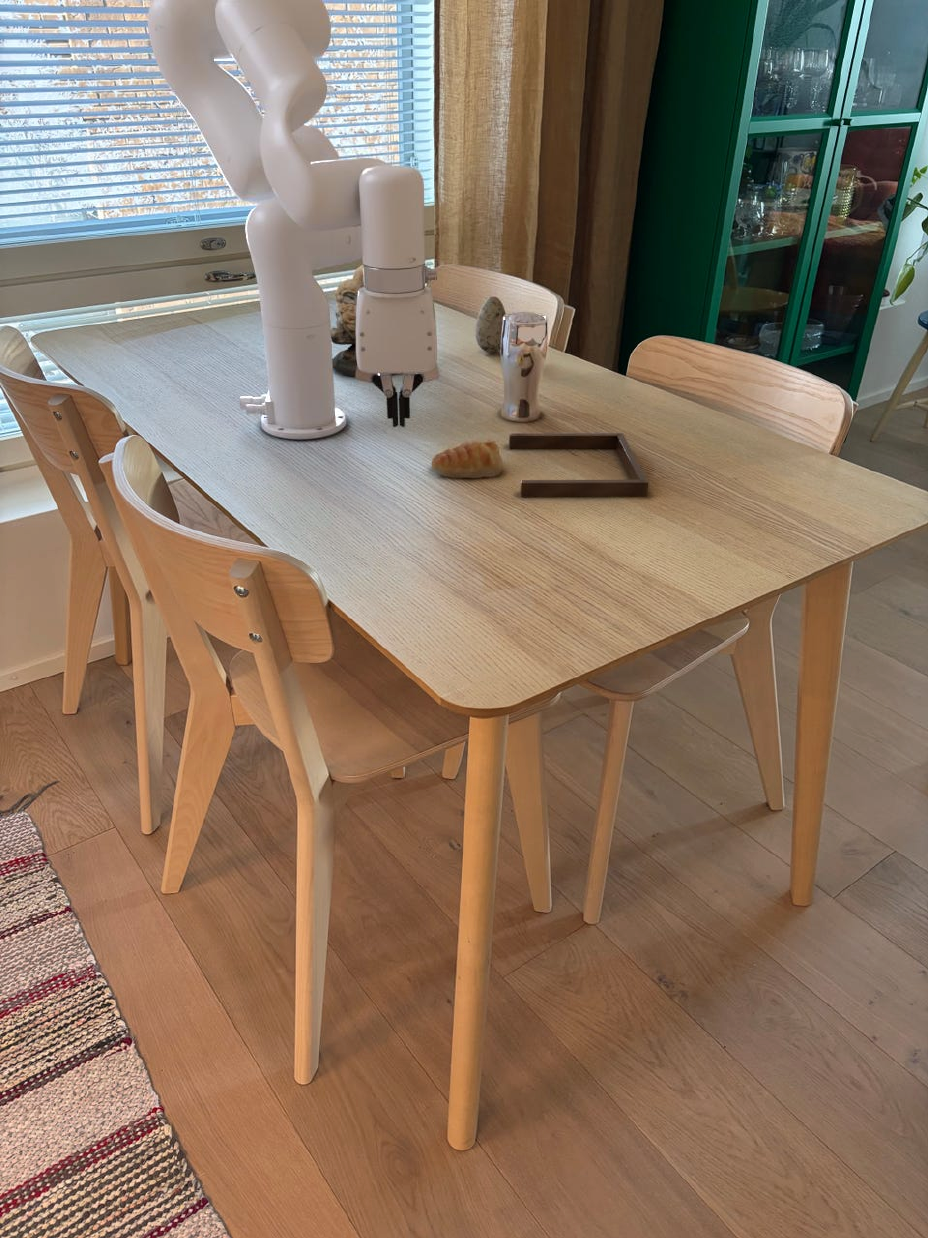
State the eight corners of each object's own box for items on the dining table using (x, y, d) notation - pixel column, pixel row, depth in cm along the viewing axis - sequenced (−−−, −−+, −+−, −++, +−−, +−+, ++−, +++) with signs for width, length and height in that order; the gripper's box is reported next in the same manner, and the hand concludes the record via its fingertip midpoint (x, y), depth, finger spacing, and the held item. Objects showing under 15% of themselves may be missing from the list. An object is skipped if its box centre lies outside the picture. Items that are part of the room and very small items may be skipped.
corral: (521, 497, 124) (521, 483, 123) (508, 446, 138) (509, 433, 137) (647, 496, 125) (648, 482, 123) (621, 445, 139) (623, 432, 138)
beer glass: (539, 425, 145) (545, 325, 137) (494, 420, 146) (497, 321, 138) (545, 409, 151) (551, 312, 143) (501, 405, 152) (505, 309, 144)
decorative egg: (469, 354, 174) (471, 298, 168) (481, 345, 179) (483, 290, 173) (500, 358, 172) (502, 302, 167) (511, 349, 177) (514, 294, 171)
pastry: (439, 484, 126) (439, 457, 124) (425, 464, 132) (425, 438, 130) (506, 476, 129) (507, 449, 127) (489, 457, 134) (490, 431, 132)
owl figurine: (347, 384, 159) (342, 278, 150) (313, 365, 167) (306, 263, 158) (436, 365, 168) (436, 264, 159) (399, 348, 176) (398, 251, 167)
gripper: (454, 271, 120) (454, 412, 129) (334, 272, 119) (343, 414, 129) (457, 285, 113) (457, 432, 123) (330, 286, 113) (340, 434, 122)
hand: (398, 423), depth 126 cm, fingers closed
